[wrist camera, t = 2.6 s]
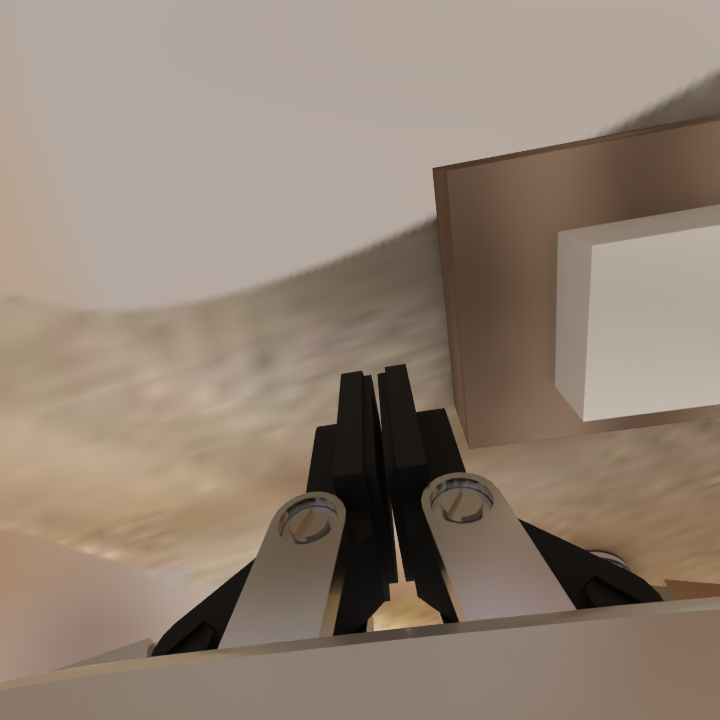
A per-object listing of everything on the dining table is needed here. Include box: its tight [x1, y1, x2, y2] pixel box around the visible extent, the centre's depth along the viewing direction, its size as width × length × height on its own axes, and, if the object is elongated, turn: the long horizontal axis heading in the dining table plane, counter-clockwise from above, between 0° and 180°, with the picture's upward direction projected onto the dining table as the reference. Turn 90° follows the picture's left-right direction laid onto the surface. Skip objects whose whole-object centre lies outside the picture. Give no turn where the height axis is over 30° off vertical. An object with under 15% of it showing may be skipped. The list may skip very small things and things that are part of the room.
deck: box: [433, 115, 720, 449], centre depth 17 cm, size 14×11×4 cm
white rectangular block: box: [555, 204, 720, 422], centre depth 14 cm, size 9×6×2 cm, turn 100°
